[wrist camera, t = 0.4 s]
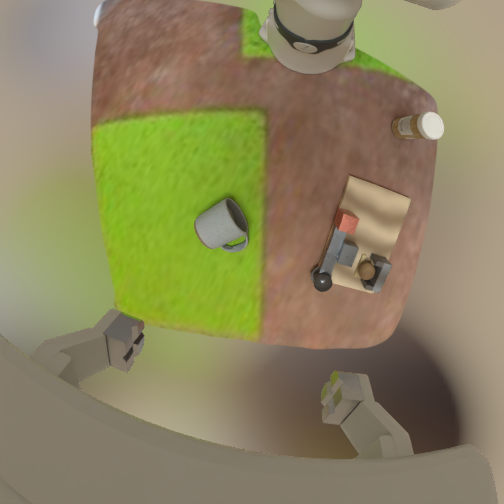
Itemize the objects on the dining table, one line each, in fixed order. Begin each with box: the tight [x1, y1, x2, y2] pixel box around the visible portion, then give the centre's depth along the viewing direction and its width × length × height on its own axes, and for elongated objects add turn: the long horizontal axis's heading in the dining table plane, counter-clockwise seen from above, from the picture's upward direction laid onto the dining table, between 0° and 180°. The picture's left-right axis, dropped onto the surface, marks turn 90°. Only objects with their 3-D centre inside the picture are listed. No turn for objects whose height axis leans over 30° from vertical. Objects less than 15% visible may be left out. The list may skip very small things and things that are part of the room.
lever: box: [313, 208, 359, 292], centre depth 50 cm, size 16×6×5 cm, turn 167°
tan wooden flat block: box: [311, 175, 411, 293], centre depth 50 cm, size 23×15×6 cm, turn 167°
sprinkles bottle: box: [392, 112, 444, 140], centre depth 37 cm, size 5×5×13 cm
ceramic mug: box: [194, 198, 248, 252], centre depth 51 cm, size 11×8×8 cm
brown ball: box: [358, 262, 375, 280], centre depth 51 cm, size 4×4×4 cm
